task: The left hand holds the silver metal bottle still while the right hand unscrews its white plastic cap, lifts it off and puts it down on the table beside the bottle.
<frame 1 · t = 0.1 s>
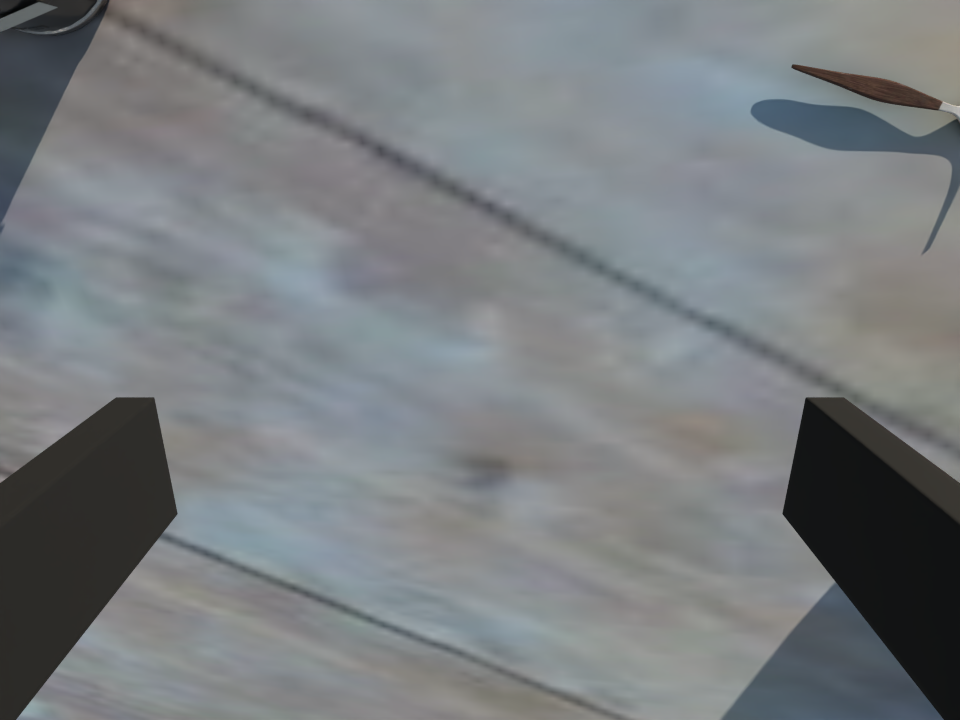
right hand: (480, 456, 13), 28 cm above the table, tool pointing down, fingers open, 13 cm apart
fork: (913, 101, 36), on the table
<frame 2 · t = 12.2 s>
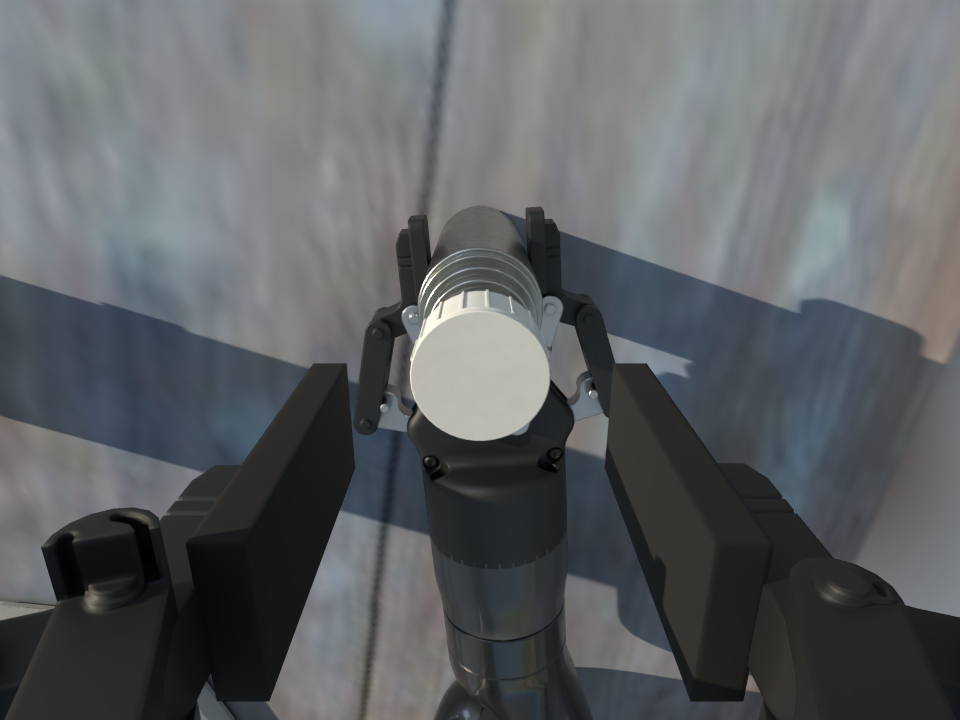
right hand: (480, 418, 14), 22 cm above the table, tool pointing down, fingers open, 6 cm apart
left hand: (475, 215, 28), fingers closed on bottle, 4 cm apart
cap: (480, 374, 17), point 19 cm above the table, screwed on, not yet turned
bottle: (480, 248, 35), on the table, touching left hand
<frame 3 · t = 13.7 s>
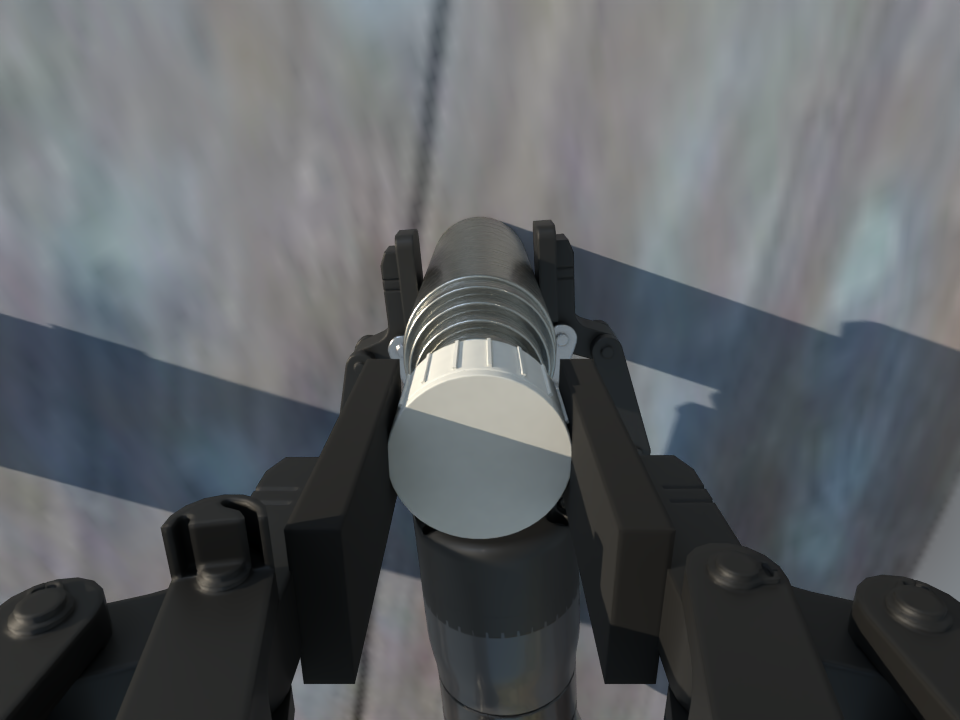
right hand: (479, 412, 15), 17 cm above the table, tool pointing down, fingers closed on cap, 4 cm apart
left hand: (474, 229, 24), fingers closed on bottle, 4 cm apart
cap: (479, 454, 13), point 19 cm above the table, screwed on, not yet turned, touching right hand
bottle: (479, 264, 31), on the table, touching left hand
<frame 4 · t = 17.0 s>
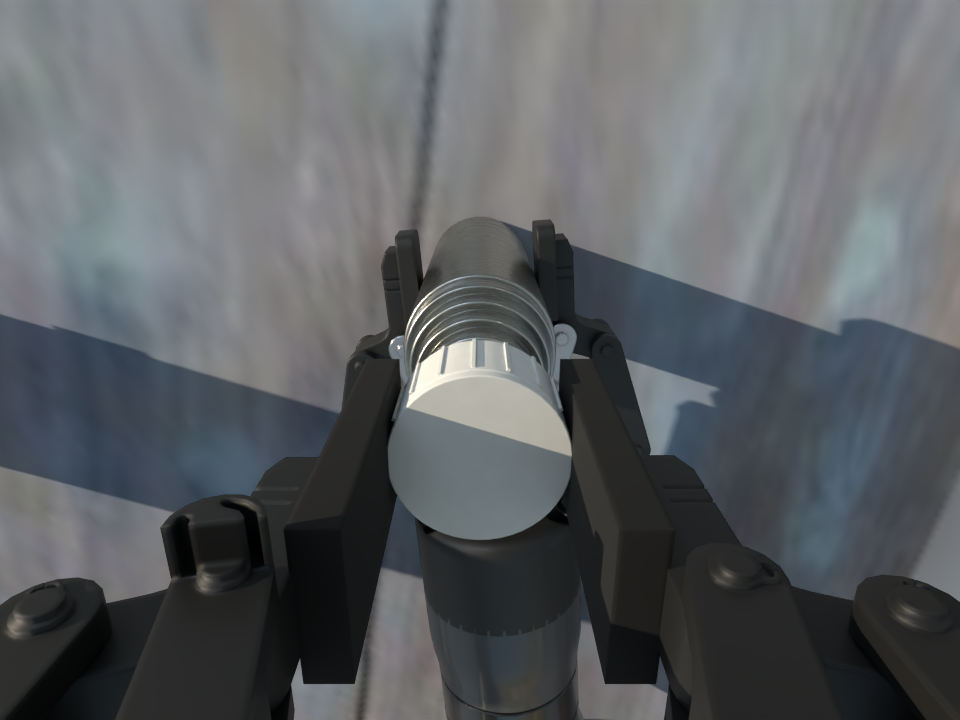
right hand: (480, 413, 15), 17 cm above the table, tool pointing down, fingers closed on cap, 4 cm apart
left hand: (473, 229, 24), fingers closed on bottle, 4 cm apart
cap: (479, 455, 13), point 19 cm above the table, turned 115° so far, risen 0.1 cm, still on its thread, touching right hand
bottle: (479, 264, 31), on the table, touching left hand
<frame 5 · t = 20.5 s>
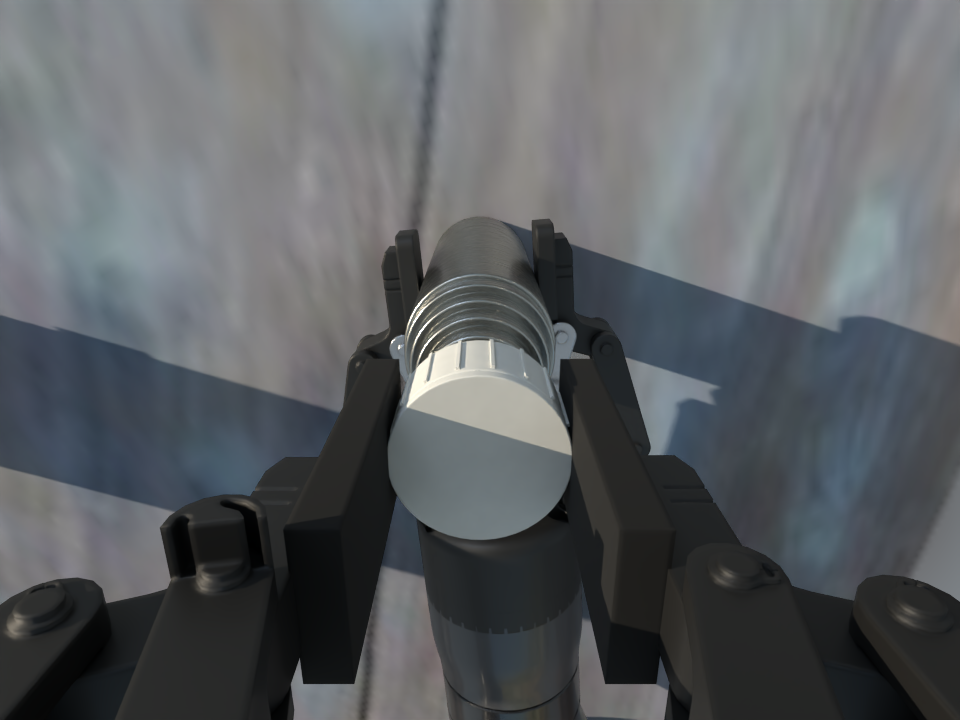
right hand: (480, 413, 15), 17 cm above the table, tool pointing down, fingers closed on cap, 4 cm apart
left hand: (473, 229, 24), fingers closed on bottle, 4 cm apart
cap: (479, 455, 13), point 19 cm above the table, turned 230° so far, risen 0.3 cm, still on its thread, touching right hand
bottle: (479, 264, 31), on the table, touching left hand
when the right hand's fingers open (1 cm above the table, at t = 31.0 s): cap drops 1 cm, point 2 cm above the table.
when the left hand's fingers open (6 cm above the table, at t = 32.3 s): bottle stays where it is, on the table.
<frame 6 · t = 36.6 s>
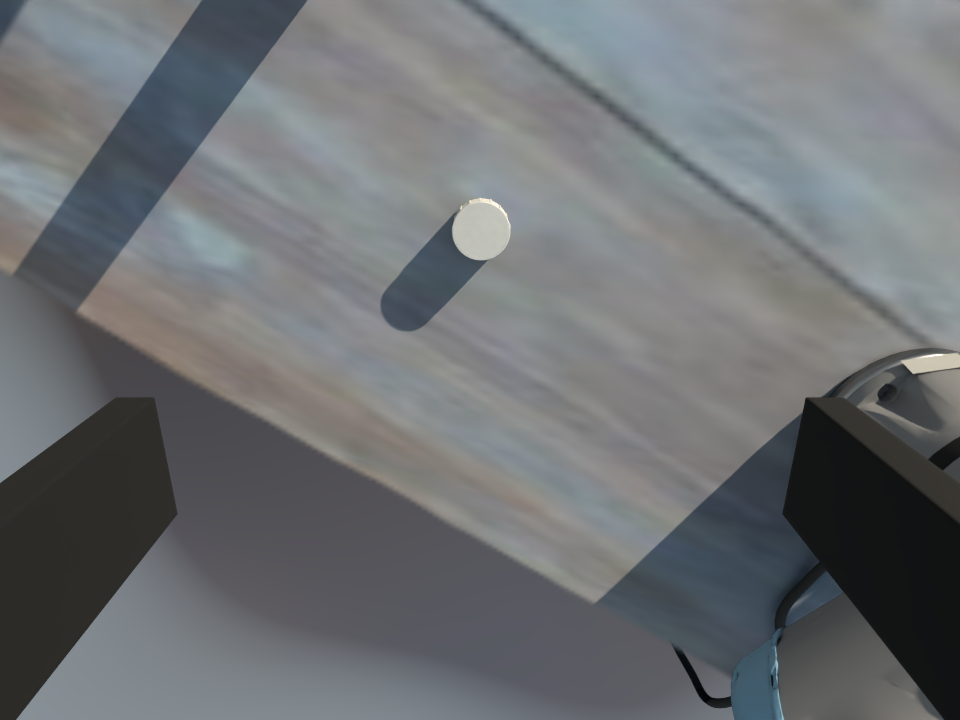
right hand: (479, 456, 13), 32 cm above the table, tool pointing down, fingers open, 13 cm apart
cap: (481, 231, 41), point 2 cm above the table, off its thread
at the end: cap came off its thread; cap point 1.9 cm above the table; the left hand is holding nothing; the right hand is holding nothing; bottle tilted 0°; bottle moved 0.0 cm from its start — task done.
